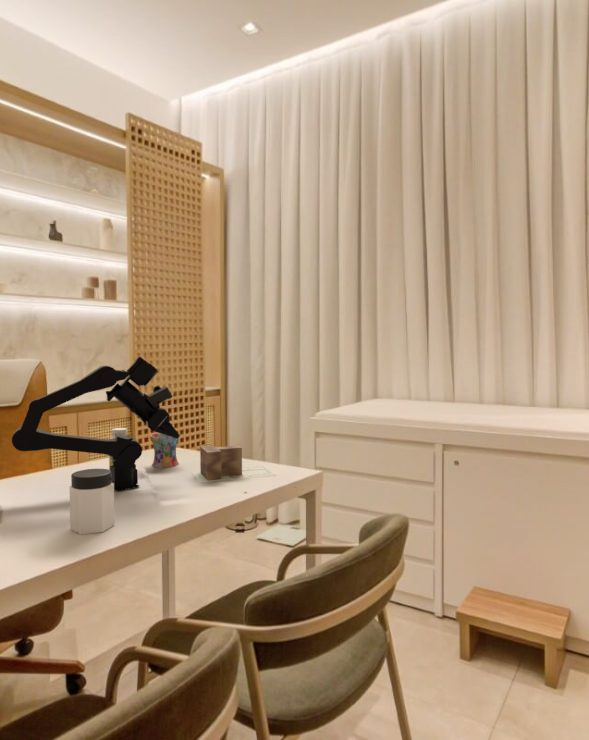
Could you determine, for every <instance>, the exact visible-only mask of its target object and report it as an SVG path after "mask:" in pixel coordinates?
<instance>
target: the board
mask: <svg viewBox="0 0 589 740" xmlns="http://www.w3.org/2000/svg"><path fill="white" fill-rule="evenodd" d="M258 470H265V471H266V472H262V473H261V472H260V473H259V472H258V473H252V474H251V473H250V474H249V473H248V474H247V476H248V477H239V478H238V477H236V478H231V477H230V476H221V479H219V480H207V479H206V478H205V477H204V476H203V475H202V474H201V471H193V472H191V475H193V477H194V478H195V479H196V480H197V481H198V482H199V484H201V483H211V482H222V481H223V482H225V481H231V480H232V481H234V480H241V479H251V478H252V479H253V478H262V477H263V478H264V477H273V476H274V477H275V476H276V473H274V472H272V471H270V470H269V469H268V468H266V467H265V466H263V465H261V466H249V467H248V466H247V467H242V472H248V471H258Z"/></svg>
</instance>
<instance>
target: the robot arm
mask: <svg viewBox="0 0 589 740" xmlns="http://www.w3.org/2000/svg"><path fill="white" fill-rule="evenodd" d="M158 373H159V370H158V369H157V368H156V367H155V366H154V365H153V364H151V363H149V362H148V361H147V360H145V359H144V358H143V357H141V356H138V357H136V359H135V360H134V362H133V363H132V364H131V365H130V366H129V367H128V369H126V370H124V369H121V370H120V369H119V370H118V369H115V368H114V367H112V366H109V365H101V366H99V367H97V368H96V369H94V370H92V371H91V372H90V373H88V374H86V376H84V377H82V378H81V379H80V380H78V381H75V382H73V383H70V384H68V385H66V386H64V387H62V388H59V389H57V390H55V391H52V392H50V393H48V394H44V395H43V396H41V397H39V398H35V399H33V400H31V401H30V403H29V405H28V410H27V412H26V415H25V418H24V419H23V422H22V424H21V426H19V427H18V428H16V430H15V431H14V432H13V434H12V438H11V443H12V446H13V448H15V449H16V450H17V451H19V452H33V451H43V450H60V451H70V452H80V453H87V454H88V453H89V454H91V453H92V454H100V455H106V456H108V457H109V456H110V458H111V460H112V463H113V464H114V465H112V466H110V468H109V470H110V471H111V473H112V483H114V492H123V491H127V490H132V489H137V488H140V485H139V483H138V482H139V481H138V480H139V479H138V469H137V464H136V461H137V460H138V459H140V457H141V456H142V453H143V447H142V445H141V444H140V442H139V441H138V440H137V439H136V438H134V437H132V436H131V435H130V434H127V435H120V434H115V438H113V439H110V438H107V439H105V438H98V437H88V436H79V435H72V434H62V433H54V432H51V431H47V430H45V429H42V428H38V427H39V424H40V422H41V420H42V417H43V414H44V413H45V412H47V411H49V410H51V409H54V408H57V407H58V406H61V405H63V404H65V403H67V402H70V401H72V400H74V399H76V398H79V397H81V396H83V395H85V394H88V393H91V392H95V391H96V392H97V391H101V390H104V389H108V388H111V387H113V388H112V389H110V390H106V391H105V394H106V401H107V402H111V401H112V400H113V398H114V399H116V400H117V401H118V402H119V403H120V404H122V405H123V406H124V407H125V408H127V409H128V410H129V411H130V412H131V413H132V414H134V415H135V416H136V417H138V418H139V419H140V420H141V421H142V422H143V423H144V424H145V425H146V427H147V428H148V429H150V430H151V431H153V432H154V433H157V434H158V433H161V434H164V435H168V436H171V437H174V438H178V439H179V438H180V436H181V435H179V432H178V431H177V430H176V428H175V427H174V426H173V424H172V423H171V422H170V413H169V412H168V411H167V410H165V409H164V408H163V407H160V404H161V403H163V402H164V401H167V400H169V399H172V398H173V394H172V393H171V391H170V389H169V388H168V386H162V387H161V386H159V385H155V386H154V387H153V388H152V392H151V393H149V394H146V393H143V392H142V391H141V390H140V389H139V388H140V387H141V386H142V387H146V386H147V385H148V384H149V383H150V382H151V381H152V380H153V379H154V377H156V375H158ZM123 380H124V381H123ZM120 381H123V382H122V383H121V384H119V382H120ZM130 381H131V382H132V383H134V384H135V385H136V386H138V387H139V388H137V387H136V386H134V384H132V383H131V382H130Z"/></svg>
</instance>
